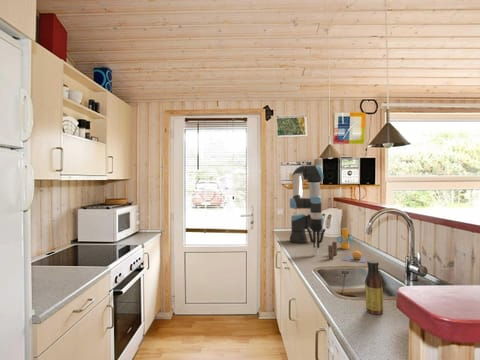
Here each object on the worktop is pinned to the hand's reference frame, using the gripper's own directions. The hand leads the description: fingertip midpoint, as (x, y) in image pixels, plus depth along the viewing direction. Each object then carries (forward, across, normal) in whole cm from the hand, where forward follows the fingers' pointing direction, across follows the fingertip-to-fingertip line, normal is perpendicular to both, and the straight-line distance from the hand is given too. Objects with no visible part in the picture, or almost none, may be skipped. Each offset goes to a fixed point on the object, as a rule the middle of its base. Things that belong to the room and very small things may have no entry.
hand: (316, 252), depth 216 cm
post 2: (+2, +11, +6) cm, 13 cm away
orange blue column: (+2, +14, +31) cm, 34 cm away
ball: (-1, +26, 0) cm, 26 cm away
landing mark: (+2, +25, 0) cm, 25 cm away
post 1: (+2, +11, -6) cm, 13 cm away
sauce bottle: (+2, +43, -83) cm, 94 cm away
